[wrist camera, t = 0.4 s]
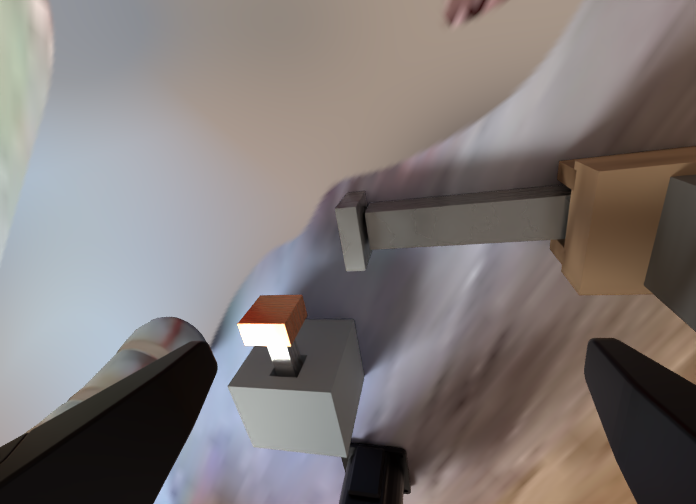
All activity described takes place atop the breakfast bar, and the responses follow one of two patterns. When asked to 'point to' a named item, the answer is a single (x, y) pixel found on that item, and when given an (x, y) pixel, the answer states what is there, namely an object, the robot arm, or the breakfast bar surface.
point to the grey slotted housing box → (304, 392)
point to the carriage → (632, 227)
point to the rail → (450, 220)
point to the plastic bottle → (135, 356)
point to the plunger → (276, 330)
